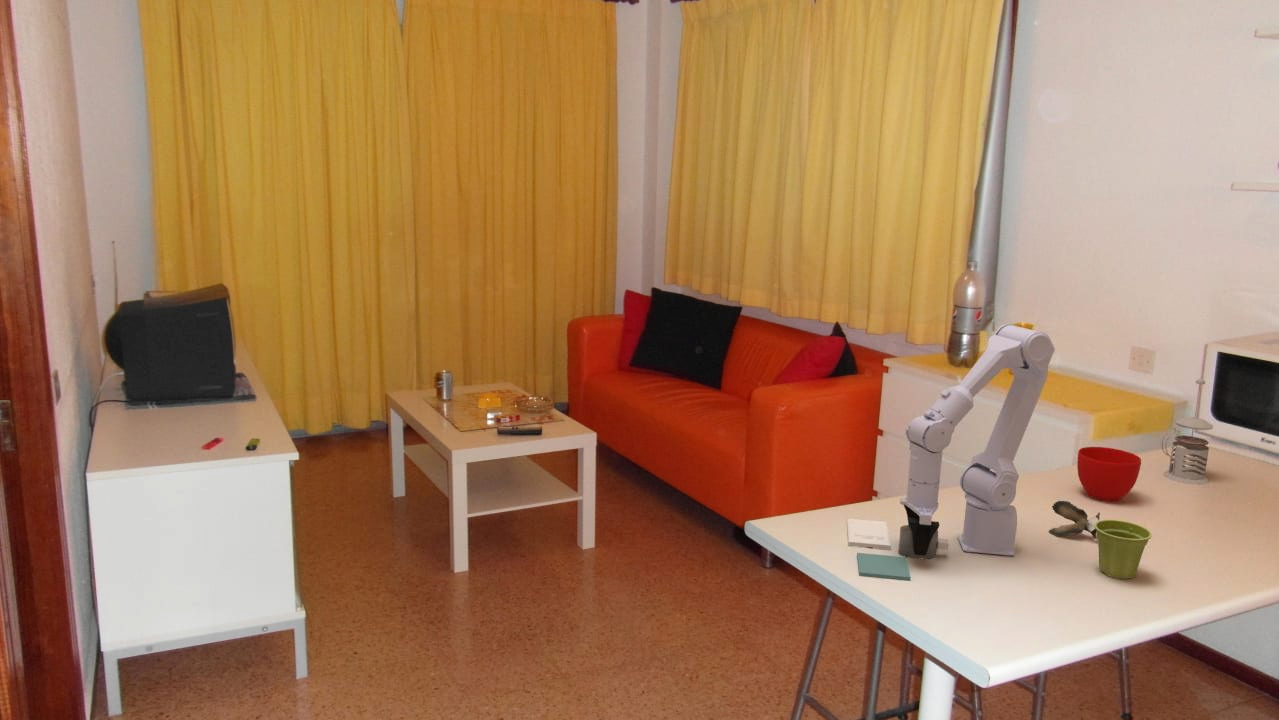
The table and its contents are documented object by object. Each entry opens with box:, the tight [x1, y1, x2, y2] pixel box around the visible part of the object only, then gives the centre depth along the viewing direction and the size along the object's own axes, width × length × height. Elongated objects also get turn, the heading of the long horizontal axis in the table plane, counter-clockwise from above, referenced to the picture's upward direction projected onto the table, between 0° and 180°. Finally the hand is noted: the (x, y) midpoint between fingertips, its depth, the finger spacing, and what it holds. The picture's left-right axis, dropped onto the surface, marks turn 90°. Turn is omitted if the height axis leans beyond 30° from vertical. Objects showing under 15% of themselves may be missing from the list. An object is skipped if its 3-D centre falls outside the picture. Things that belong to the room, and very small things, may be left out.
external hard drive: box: [846, 518, 892, 551], centre depth 186 cm, size 2×8×12 cm
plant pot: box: [1095, 519, 1153, 580], centre depth 171 cm, size 9×9×9 cm
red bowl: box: [1076, 446, 1142, 502], centre depth 213 cm, size 13×17×10 cm
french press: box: [1160, 378, 1214, 485], centre depth 225 cm, size 10×12×25 cm
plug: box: [897, 524, 950, 560], centre depth 177 cm, size 9×4×5 cm, turn 80°
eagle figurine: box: [1048, 500, 1101, 539], centre depth 189 cm, size 8×7×9 cm
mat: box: [856, 552, 911, 581], centre depth 171 cm, size 9×9×1 cm
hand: (917, 546), depth 178 cm, fingers open, 7 cm apart
